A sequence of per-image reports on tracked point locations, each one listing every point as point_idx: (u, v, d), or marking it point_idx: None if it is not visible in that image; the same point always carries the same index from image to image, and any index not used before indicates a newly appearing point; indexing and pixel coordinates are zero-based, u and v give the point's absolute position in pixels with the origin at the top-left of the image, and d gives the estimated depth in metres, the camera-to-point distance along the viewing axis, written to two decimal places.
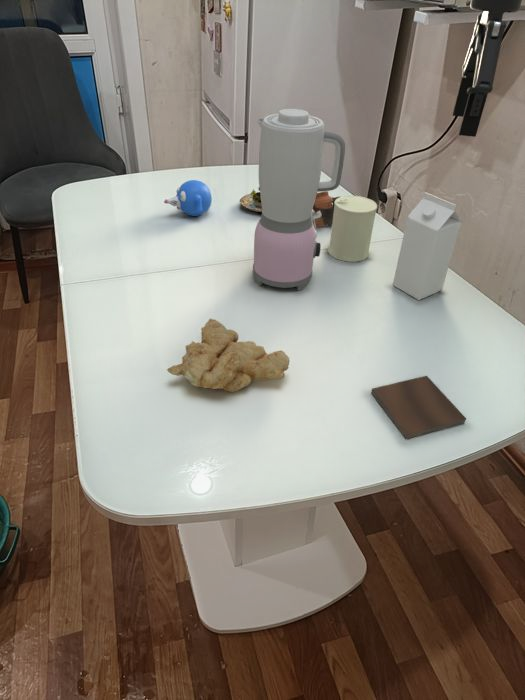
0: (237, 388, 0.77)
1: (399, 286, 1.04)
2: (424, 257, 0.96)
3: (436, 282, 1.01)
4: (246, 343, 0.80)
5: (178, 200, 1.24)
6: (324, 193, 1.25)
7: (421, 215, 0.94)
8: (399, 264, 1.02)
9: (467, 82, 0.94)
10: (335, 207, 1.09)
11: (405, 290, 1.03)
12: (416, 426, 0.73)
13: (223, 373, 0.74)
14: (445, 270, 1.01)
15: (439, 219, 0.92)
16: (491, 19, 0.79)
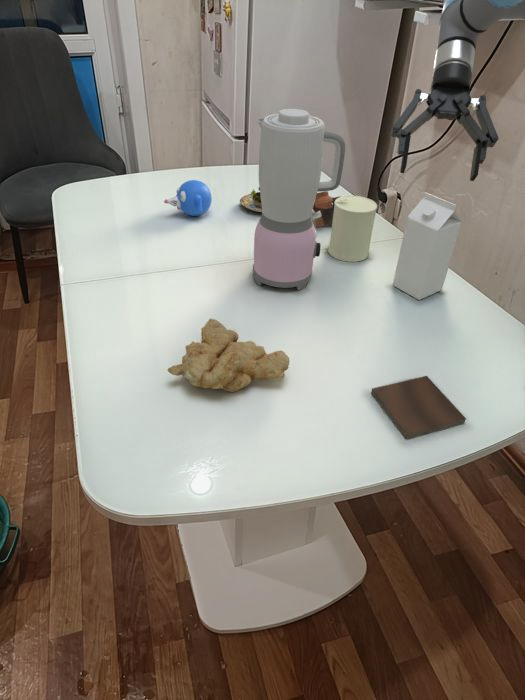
0: (237, 388, 0.77)
1: (399, 286, 1.04)
2: (424, 257, 0.96)
3: (436, 282, 1.01)
4: (246, 343, 0.80)
5: (178, 200, 1.24)
6: (324, 193, 1.25)
7: (421, 215, 0.94)
8: (399, 264, 1.02)
9: (475, 150, 1.00)
10: (335, 207, 1.09)
11: (405, 290, 1.03)
12: (416, 426, 0.73)
13: (223, 373, 0.74)
14: (445, 270, 1.01)
15: (439, 219, 0.92)
16: None
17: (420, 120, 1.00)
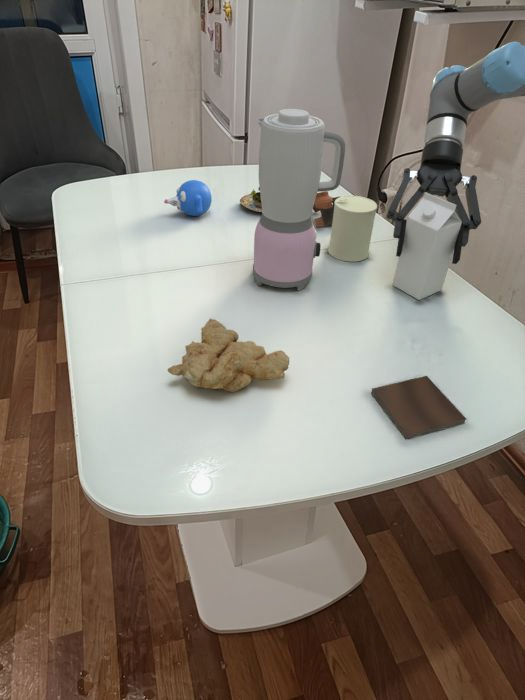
0: (237, 388, 0.77)
1: (399, 286, 1.04)
2: (424, 257, 0.96)
3: (436, 282, 1.01)
4: (246, 343, 0.80)
5: (178, 200, 1.24)
6: (324, 193, 1.25)
7: (421, 215, 0.94)
8: (399, 264, 1.02)
9: None
10: (335, 207, 1.09)
11: (405, 290, 1.03)
12: (416, 426, 0.73)
13: (223, 373, 0.74)
14: (445, 270, 1.01)
15: (439, 219, 0.92)
16: None
17: (414, 201, 0.98)
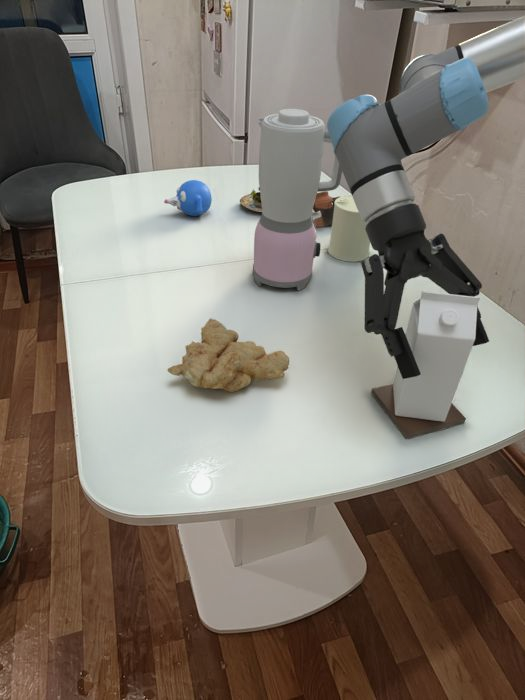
0: (237, 388, 0.77)
1: (408, 414, 0.73)
2: (451, 374, 0.68)
3: None
4: (246, 343, 0.80)
5: (178, 200, 1.24)
6: (324, 193, 1.25)
7: (436, 325, 0.65)
8: (406, 390, 0.71)
9: None
10: (335, 207, 1.09)
11: (419, 416, 0.73)
12: (416, 426, 0.73)
13: (223, 373, 0.74)
14: None
15: (465, 323, 0.65)
16: (379, 254, 0.68)
17: (400, 299, 0.66)
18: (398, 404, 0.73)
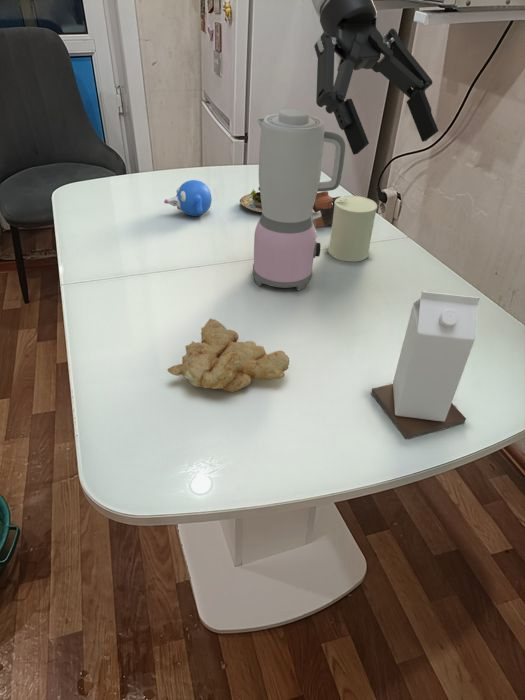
0: (237, 388, 0.77)
1: (408, 414, 0.73)
2: (451, 374, 0.68)
3: None
4: (246, 343, 0.80)
5: (178, 200, 1.24)
6: (324, 193, 1.25)
7: (436, 325, 0.65)
8: (406, 390, 0.71)
9: (413, 101, 0.76)
10: (335, 207, 1.09)
11: (419, 416, 0.73)
12: (416, 426, 0.73)
13: (223, 373, 0.74)
14: None
15: (465, 323, 0.65)
16: None
17: (350, 75, 0.69)
18: (398, 404, 0.73)
